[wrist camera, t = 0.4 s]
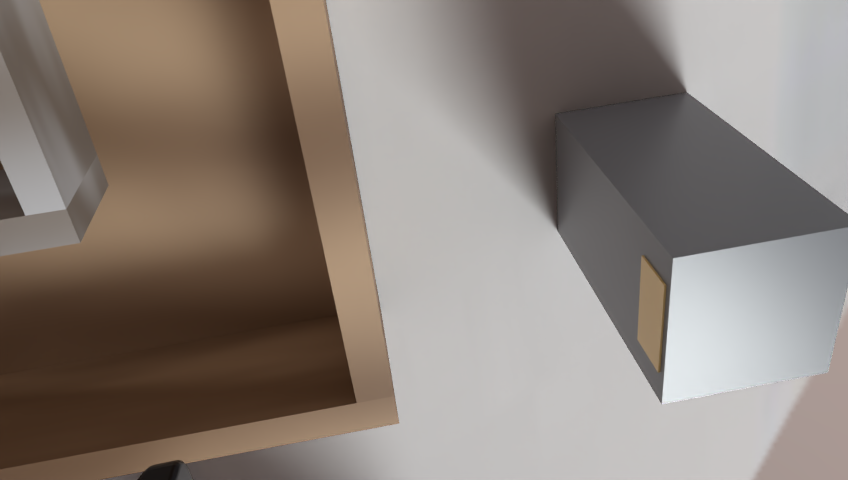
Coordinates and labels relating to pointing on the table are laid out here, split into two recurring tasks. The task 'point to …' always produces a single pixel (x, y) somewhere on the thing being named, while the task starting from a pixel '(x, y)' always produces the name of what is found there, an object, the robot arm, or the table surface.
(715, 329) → the grey rectangular block
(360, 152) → the table surface
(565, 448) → the table surface
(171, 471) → the robot arm
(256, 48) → the walled box
